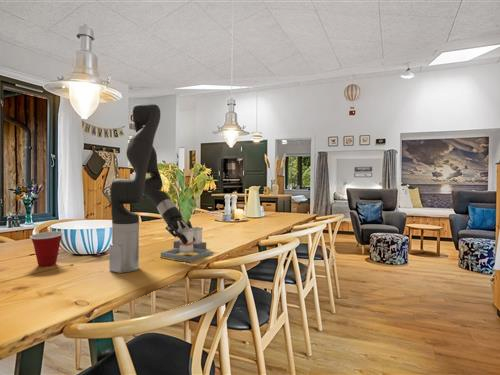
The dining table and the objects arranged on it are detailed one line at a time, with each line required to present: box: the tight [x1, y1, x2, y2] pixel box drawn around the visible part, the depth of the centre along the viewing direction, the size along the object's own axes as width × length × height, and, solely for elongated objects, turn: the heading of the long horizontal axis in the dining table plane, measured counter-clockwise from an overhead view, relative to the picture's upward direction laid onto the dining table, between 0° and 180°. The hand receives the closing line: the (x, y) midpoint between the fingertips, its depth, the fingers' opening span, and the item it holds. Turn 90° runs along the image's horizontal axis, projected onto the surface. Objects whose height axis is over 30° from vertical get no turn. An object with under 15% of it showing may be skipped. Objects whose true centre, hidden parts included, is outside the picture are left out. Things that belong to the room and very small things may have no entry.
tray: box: [160, 248, 212, 264], centre depth 141 cm, size 14×16×2 cm
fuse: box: [192, 226, 203, 244], centre depth 153 cm, size 4×4×10 cm
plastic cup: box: [29, 230, 64, 268], centre depth 126 cm, size 11×11×12 cm
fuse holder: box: [173, 239, 207, 250], centre depth 155 cm, size 7×14×4 cm, turn 60°
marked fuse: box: [178, 228, 194, 255], centre depth 141 cm, size 4×4×10 cm
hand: (190, 242), depth 140 cm, fingers closed on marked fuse, 4 cm apart
